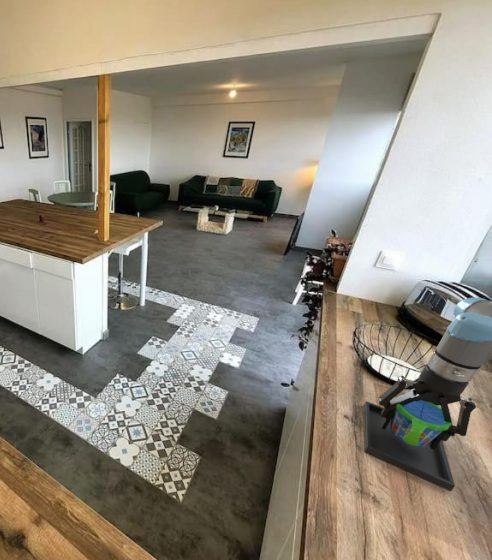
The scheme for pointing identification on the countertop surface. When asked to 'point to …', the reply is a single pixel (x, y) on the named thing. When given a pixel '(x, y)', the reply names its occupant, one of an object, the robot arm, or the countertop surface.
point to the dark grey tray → (405, 451)
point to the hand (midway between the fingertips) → (406, 435)
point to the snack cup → (418, 423)
